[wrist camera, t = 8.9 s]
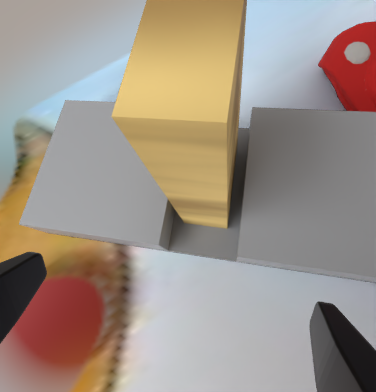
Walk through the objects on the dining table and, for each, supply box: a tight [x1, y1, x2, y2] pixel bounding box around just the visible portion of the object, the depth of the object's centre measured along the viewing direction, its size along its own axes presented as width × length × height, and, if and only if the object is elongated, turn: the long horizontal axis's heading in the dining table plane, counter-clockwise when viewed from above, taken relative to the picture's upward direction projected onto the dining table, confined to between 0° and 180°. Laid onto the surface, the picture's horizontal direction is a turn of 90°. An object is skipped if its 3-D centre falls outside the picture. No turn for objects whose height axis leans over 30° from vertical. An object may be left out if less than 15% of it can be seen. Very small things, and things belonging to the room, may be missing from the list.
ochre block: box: [111, 0, 247, 229], centre depth 13 cm, size 6×3×12 cm, turn 171°
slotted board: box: [19, 100, 376, 283], centre depth 18 cm, size 10×24×3 cm, turn 81°
